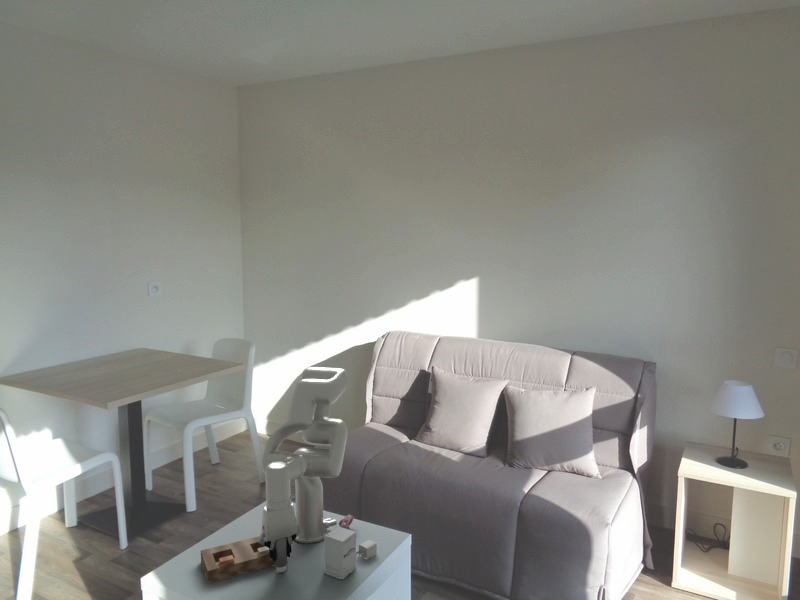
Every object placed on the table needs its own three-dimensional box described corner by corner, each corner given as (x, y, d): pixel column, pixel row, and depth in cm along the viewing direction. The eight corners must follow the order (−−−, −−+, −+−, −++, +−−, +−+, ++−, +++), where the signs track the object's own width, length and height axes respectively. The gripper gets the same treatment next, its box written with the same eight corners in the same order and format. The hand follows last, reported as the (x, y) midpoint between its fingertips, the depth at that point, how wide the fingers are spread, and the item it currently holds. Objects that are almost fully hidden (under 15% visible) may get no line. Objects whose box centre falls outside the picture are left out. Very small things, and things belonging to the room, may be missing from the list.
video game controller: (341, 544, 203) (350, 528, 201) (330, 537, 203) (338, 521, 202) (349, 530, 212) (357, 514, 211) (338, 523, 213) (346, 508, 212)
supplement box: (342, 580, 179) (342, 541, 177) (323, 573, 183) (323, 535, 181) (356, 569, 185) (356, 531, 183) (338, 562, 189) (337, 525, 187)
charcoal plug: (285, 564, 186) (284, 529, 184) (289, 571, 182) (288, 535, 181) (273, 568, 184) (271, 532, 183) (276, 574, 181) (275, 538, 179)
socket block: (273, 543, 200) (273, 528, 199) (285, 562, 189) (284, 546, 188) (201, 562, 189) (200, 546, 188) (208, 583, 177) (207, 566, 177)
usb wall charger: (376, 554, 193) (376, 543, 193) (361, 563, 188) (361, 551, 188) (368, 550, 196) (368, 539, 195) (352, 558, 191) (352, 547, 190)
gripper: (300, 491, 187) (302, 544, 190) (248, 503, 180) (251, 558, 182) (308, 501, 181) (310, 556, 183) (254, 513, 173) (257, 571, 176)
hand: (280, 556), depth 183 cm, fingers closed on charcoal plug, 4 cm apart
